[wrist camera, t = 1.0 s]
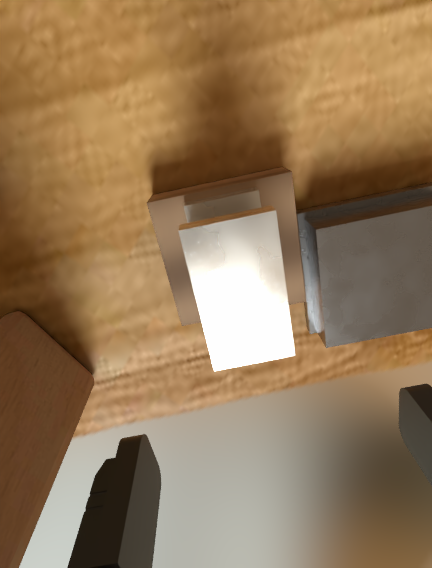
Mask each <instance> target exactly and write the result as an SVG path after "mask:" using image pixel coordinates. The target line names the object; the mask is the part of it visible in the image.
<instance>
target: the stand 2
mask: <svg viewBox="0 0 432 568" xmlns="http://www.w3.org/2000/svg"><path fill="white" fill-rule="evenodd" d="M296 216H297V225H298V234H299V243H300V252H301V262H302V271H303V280H304V289H305V298H306V302H304V305H305V314H306V323H307V329H308V331H309V333H310V334H313V333H318V334H319V336H320V338H321V339H322V341H323V343H324V345H325V347H326V348H328V347H333V346H339V345H344V344H349V343H354V342H360V341H365V340H370V339H375V338H381V337H386V336H391V335H396V334H402V333H407V332H412V331H417V330H423V329H428V328H432V182H430V183H425V184H421V185H416V186H411V187H406V188H402V189H397V190H392V191H387V192H383V193H378V194H373V195H368V196H364V197H359V198H354V199H349V200H344V201H340V202H335V203H330V204H325V205H321V206H316V207H311V208H306V209H302V210H297V211H296Z"/></svg>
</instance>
